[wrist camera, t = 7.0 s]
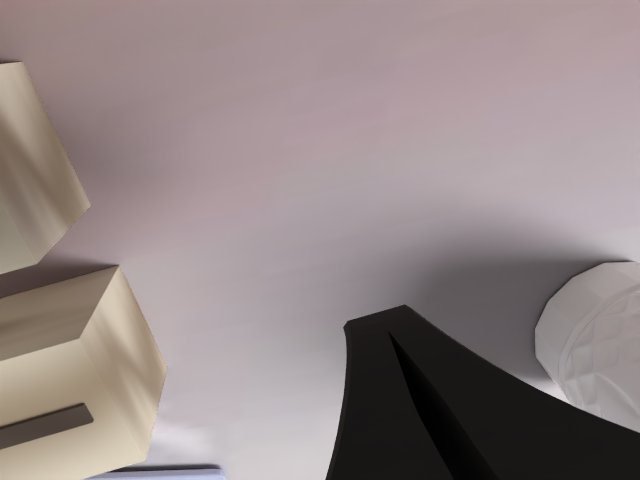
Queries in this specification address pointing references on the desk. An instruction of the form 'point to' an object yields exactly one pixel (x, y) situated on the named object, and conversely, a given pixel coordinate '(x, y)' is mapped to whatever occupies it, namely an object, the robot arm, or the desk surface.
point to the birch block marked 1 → (76, 379)
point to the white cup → (596, 342)
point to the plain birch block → (32, 175)
